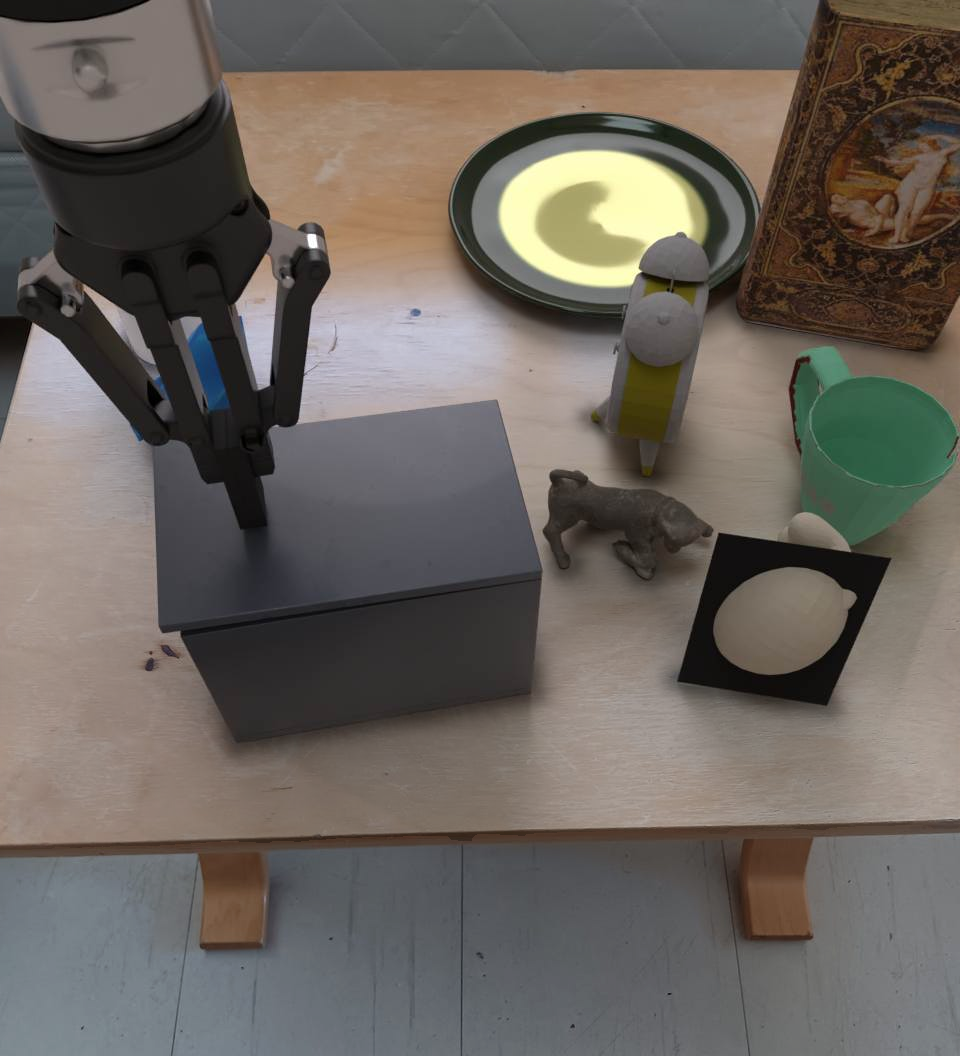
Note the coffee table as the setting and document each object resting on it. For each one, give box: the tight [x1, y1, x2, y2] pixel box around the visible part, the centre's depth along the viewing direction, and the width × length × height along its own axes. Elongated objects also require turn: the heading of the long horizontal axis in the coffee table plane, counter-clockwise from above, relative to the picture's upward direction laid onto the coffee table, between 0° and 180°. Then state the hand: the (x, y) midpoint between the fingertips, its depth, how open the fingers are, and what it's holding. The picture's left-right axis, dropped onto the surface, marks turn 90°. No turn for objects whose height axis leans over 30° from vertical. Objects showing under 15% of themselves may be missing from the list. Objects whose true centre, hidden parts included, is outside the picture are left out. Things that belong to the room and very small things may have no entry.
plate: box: [447, 111, 762, 318], centre depth 89 cm, size 28×28×2 cm
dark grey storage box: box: [179, 577, 543, 744], centre depth 63 cm, size 20×13×14 cm, turn 101°
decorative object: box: [676, 511, 892, 707], centre depth 64 cm, size 13×10×10 cm
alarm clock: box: [589, 232, 710, 477], centre depth 72 cm, size 12×7×15 cm, turn 167°
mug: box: [788, 345, 960, 547], centre depth 71 cm, size 15×10×10 cm
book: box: [735, 0, 960, 351], centre depth 74 cm, size 16×6×25 cm, turn 76°
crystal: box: [129, 315, 250, 443], centre depth 75 cm, size 7×9×12 cm
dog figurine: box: [542, 468, 715, 580], centre depth 69 cm, size 12×6×7 cm, turn 74°
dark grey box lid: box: [152, 399, 543, 634], centre depth 56 cm, size 21×13×1 cm, turn 101°
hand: (252, 508), depth 55 cm, fingers closed
